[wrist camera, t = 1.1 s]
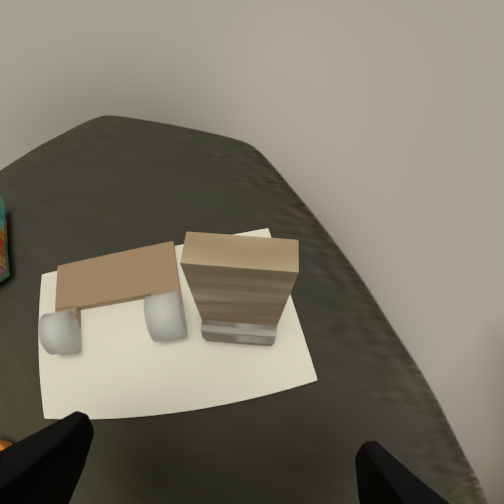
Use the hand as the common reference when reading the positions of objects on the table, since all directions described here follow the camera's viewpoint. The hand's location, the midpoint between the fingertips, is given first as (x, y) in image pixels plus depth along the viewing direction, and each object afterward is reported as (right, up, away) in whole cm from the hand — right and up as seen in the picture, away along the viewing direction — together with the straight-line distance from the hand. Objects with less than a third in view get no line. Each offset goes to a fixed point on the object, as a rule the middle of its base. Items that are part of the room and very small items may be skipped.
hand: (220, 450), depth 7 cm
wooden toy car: (0, 0, +15) cm, 15 cm away
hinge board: (-7, 0, +15) cm, 17 cm away
